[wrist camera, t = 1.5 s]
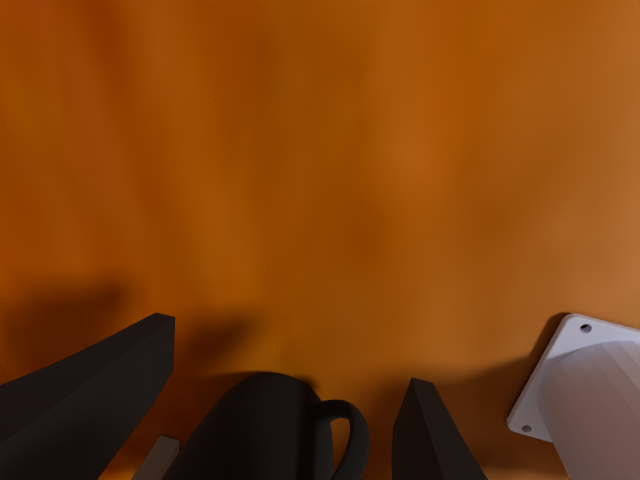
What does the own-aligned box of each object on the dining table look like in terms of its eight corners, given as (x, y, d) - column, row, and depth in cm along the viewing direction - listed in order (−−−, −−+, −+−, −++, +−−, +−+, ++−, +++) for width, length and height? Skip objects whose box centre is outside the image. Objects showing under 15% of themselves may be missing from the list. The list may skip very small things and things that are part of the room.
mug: (275, 476, 27) (218, 676, 18) (187, 392, 26) (74, 565, 16) (416, 410, 23) (434, 628, 14) (321, 304, 21) (269, 471, 12)
